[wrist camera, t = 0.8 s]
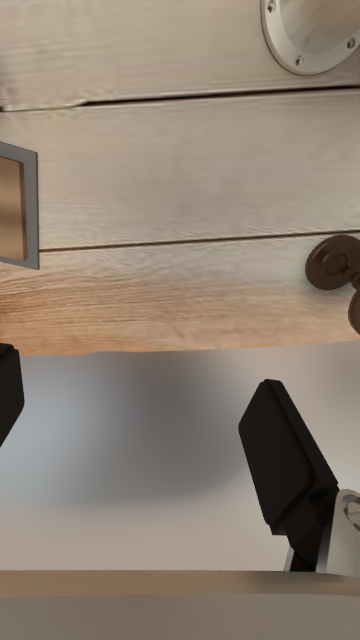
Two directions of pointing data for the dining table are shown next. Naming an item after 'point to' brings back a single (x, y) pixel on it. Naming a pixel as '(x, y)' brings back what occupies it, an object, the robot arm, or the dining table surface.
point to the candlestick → (337, 269)
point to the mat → (27, 203)
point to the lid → (12, 210)
